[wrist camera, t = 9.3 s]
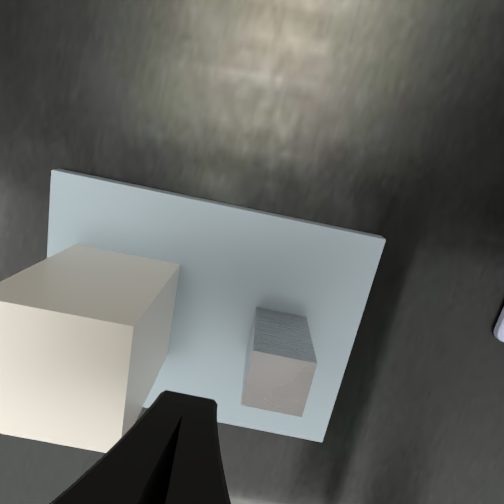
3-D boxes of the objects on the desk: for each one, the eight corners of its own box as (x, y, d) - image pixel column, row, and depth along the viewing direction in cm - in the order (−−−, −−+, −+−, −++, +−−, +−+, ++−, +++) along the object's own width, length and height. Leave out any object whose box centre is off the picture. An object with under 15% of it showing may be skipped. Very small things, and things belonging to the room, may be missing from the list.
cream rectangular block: (180, 264, 18) (133, 326, 12) (167, 355, 19) (119, 455, 13) (76, 243, 18) (-28, 295, 12) (70, 337, 19) (-25, 428, 13)
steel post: (304, 310, 19) (317, 363, 15) (293, 352, 20) (302, 417, 15) (256, 300, 19) (253, 350, 14) (246, 343, 20) (240, 405, 15)
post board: (380, 235, 18) (386, 239, 17) (320, 431, 21) (322, 442, 21) (60, 168, 18) (51, 169, 17) (48, 378, 21) (40, 386, 20)
